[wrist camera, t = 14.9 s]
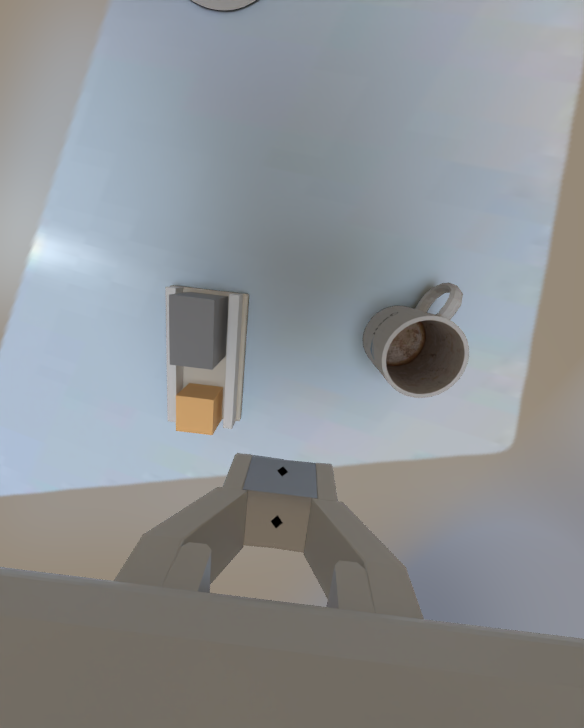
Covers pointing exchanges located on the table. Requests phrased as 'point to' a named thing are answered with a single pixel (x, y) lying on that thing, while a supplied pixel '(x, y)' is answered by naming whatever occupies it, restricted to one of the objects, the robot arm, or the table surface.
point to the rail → (209, 375)
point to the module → (197, 329)
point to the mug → (419, 345)
